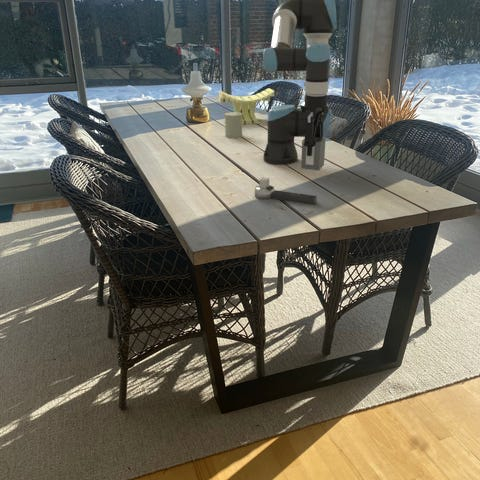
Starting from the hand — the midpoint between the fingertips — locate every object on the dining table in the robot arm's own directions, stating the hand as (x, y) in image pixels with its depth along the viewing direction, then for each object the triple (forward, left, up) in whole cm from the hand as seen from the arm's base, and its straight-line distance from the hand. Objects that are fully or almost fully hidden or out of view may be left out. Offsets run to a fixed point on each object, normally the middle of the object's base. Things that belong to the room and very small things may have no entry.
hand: (312, 161), depth 172 cm
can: (-69, -65, -12) cm, 96 cm away
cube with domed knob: (0, 0, -2) cm, 2 cm away
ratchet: (+9, -7, -12) cm, 16 cm away
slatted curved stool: (-105, -74, -12) cm, 129 cm away
